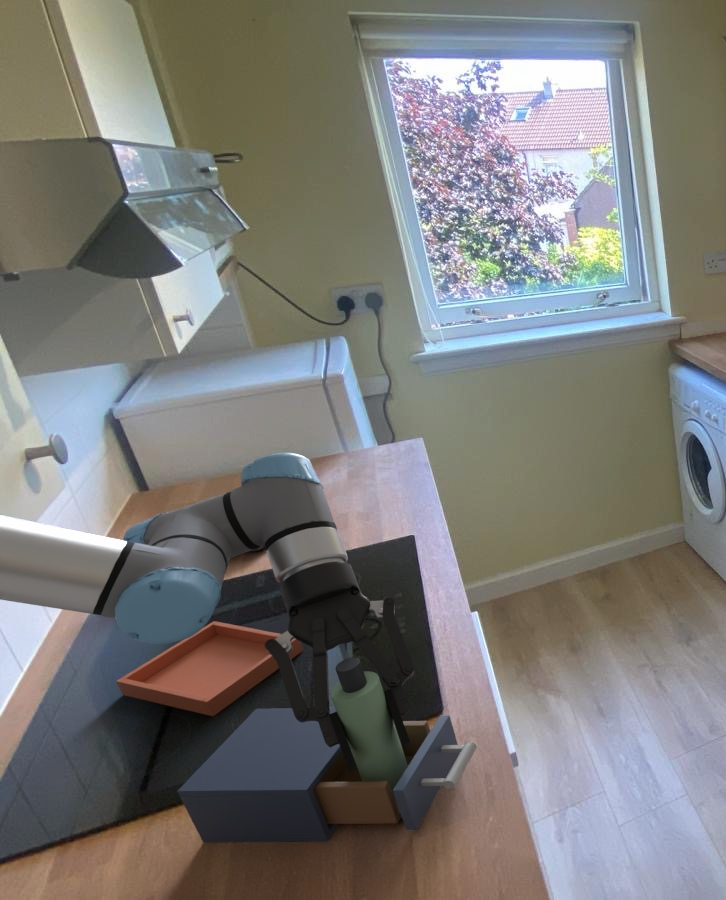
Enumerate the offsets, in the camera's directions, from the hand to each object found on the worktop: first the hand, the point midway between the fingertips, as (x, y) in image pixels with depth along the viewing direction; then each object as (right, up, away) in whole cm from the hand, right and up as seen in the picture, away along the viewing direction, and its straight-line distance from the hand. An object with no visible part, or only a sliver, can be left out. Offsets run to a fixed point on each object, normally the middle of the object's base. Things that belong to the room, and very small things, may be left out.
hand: (380, 756), depth 83 cm
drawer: (-1, -7, +6) cm, 9 cm away
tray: (-41, +1, +28) cm, 50 cm away
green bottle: (-2, -6, +6) cm, 8 cm away
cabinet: (-14, -8, +7) cm, 17 cm away
